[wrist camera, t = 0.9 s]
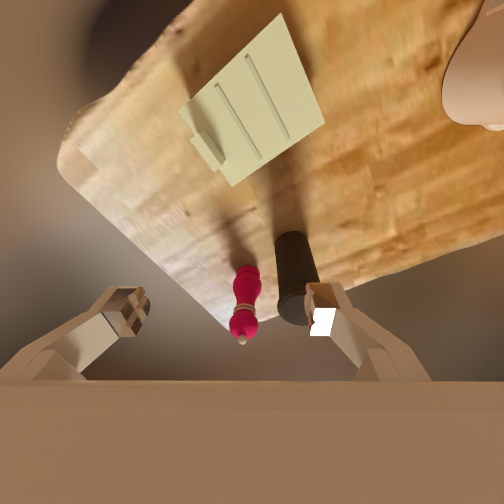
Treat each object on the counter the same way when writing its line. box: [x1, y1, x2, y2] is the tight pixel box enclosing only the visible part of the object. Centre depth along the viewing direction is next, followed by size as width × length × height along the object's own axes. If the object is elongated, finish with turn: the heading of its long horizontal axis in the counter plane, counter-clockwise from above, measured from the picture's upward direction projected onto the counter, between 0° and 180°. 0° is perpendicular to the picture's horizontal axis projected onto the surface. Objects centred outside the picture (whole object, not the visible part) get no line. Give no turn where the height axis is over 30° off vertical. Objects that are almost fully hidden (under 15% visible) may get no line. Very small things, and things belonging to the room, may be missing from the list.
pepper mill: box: [229, 266, 262, 344], centre depth 47 cm, size 7×7×20 cm
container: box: [275, 231, 320, 326], centre depth 42 cm, size 9×9×20 cm
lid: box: [178, 13, 325, 186], centre depth 29 cm, size 17×13×6 cm
